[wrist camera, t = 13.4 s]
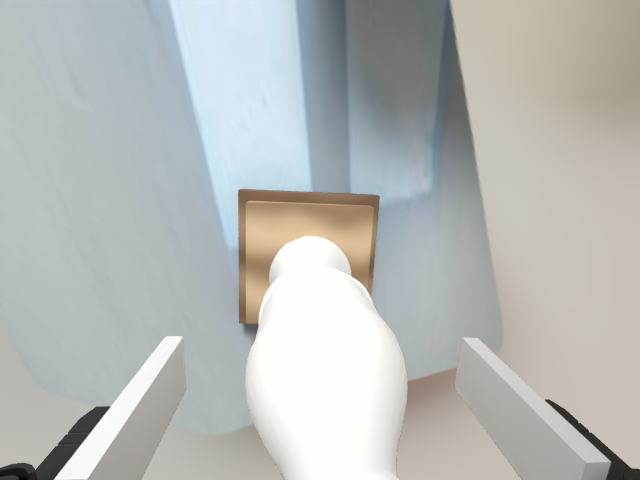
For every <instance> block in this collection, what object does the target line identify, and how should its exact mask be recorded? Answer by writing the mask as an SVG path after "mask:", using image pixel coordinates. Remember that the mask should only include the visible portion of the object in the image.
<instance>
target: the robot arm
mask: <svg viewBox="0 0 640 480" xmlns="http://www.w3.org/2000/svg"><path fill="white" fill-rule="evenodd" d="M454 387H455V389H456V390H457V392H458V393H459V394H460V396H461V397H462V399H463V400H464V401H465V403H466V404H467V405H468V407H469V408H470V409H471V411H472V412H473V414H474V415H475V416H476V418H477V419H478V420H479V422H480V423H481V424H482V426H483V427H484V429H485V430H486V432H487V433H488V434H489V436H490V437H491V438H492V440H493V441H494V443H495V444H496V445H497V447H498V448H499V449H500V451H501V452H502V453H503V455H504V456H505V458H506V459H507V460H508V462H509V463H510V464H511V466H512V467H513V469H514V470H515V471H516V473H517V474H518V476H519V477H520V478H521V480H640V469H632V468H630V467H629V466H628V465H627V464H626V463H625V462H623V461H622V460H621V459H620V458H619V457H618V456H617V455H616V454H614V453H613V452H612V451H611V450H610V449H609V448H608V447H607V446H606V445H604V444H603V443H602V442H601V441H600V440H599V439H598V438H597V437H595V436H594V435H593V434H592V433H589V431H588V429H586V428H585V427H584V426H583V425H582V424H581V423H578V421H577V420H576V419H575V418H574V417H573V416H572V415H571V414H570V413H568V412H567V411H566V410H565V409H564V408H562V407H560V406H559V405H557V404H555V403H554V402H552V401H550V400H544V399H543V398H542V397H541V396H540V395H538V394H537V393H536V392H535V391H534V390H533V389H532V388H531V387H530V386H529V385H528V384H527V383H525V382H524V381H523V380H522V379H521V378H520V377H519V376H518V375H517V374H516V373H515V372H514V371H513V370H512V369H510V368H509V367H508V366H507V365H506V364H505V363H504V362H503V361H501V359H500V358H499V357H497V356H496V355H495V354H494V353H493V352H492V351H491V350H490V349H489V348H488V347H487V346H486V345H485V344H483V343H482V342H481V341H480V340H479V339H478V338H462V342H461V348H460V354H459V361H458V367H457V373H456V380H455V385H454ZM185 391H186V378H185V358H184V339H183V336H166V337H165V338H164V339H163V341H162V342H161V343H160V344H159V346H158V347H157V348H156V349H155V351H154V352H153V353H152V355H151V356H150V357H149V358H148V360H147V361H146V362H145V364H144V365H143V366H142V367H141V369H140V370H139V371H138V373H137V374H136V375H135V376H134V378H133V379H132V380H131V382H130V383H129V384H128V385H127V387H126V388H125V389H124V390H123V392H122V393H121V394H120V396H119V397H118V398H117V399H116V401H115V402H114V403H113V405H112V406H111V407H95V408H94V409H93V410H91V411H90V412H88V413H87V414H86V415H84V416H83V417H82V418H80V419H79V420H78V421H77V423H76V424H75V425H74V426H73V427H72V428H71V430H70V431H69V432H68V435H65V436H64V438H63V439H62V440H61V441H60V442H59V444H58V446H56V447H55V448H54V449H53V450H52V451H51V453H50V454H49V455H48V456H47V457H46V458H45V459H44V461H43V462H42V463H41V464H40V465H39V466H38V468H37V469H36V470H35V469H34V467H33V466H32V465H30V464H26V463H17V464H11V465H8V466H5V467H2V468H0V480H141V479H142V477H143V475H144V473H145V471H146V469H147V467H148V465H149V463H150V461H151V459H152V457H153V455H154V453H155V451H156V449H157V447H158V445H159V443H160V441H161V439H162V437H163V435H164V433H165V431H166V429H167V427H168V425H169V423H170V421H171V419H172V417H173V415H174V413H175V411H176V409H177V407H178V405H179V403H180V401H181V399H182V397H183V395H184V393H185Z"/></svg>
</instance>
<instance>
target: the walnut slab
mask: <svg viewBox="0 0 640 480" xmlns="http://www.w3.org/2000/svg"><path fill="white" fill-rule="evenodd" d="M379 198H380V196H377V195H368V194H345V193H322V192H298V191H275V190H252V189H240V190H238V211H239V323H246V202H248V201H265V202H290V203H315V204H340V205H365V206H371V207H373V208H374V215H373V227H372V239H371V251H370V263H369V275H368V287H367V291H368V293H369V295H370V297H371V291H372V279H373V268H374V256H375V245H376V233H377V221H378V210H379Z"/></svg>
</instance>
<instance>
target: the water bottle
mask: <svg viewBox="0 0 640 480" xmlns="http://www.w3.org/2000/svg"><path fill="white" fill-rule="evenodd" d="M269 282H270V287H269V288H268V290H267V291H266V293H265V295H264V297H263V300H262V304H261V308H260V312H259V320H258V324H259V327H258V331H257V335H256V339H255V342H254V344H253V346H252V347H251V350H250V353H249V357H248V360H247V367H246V379H245V389H246V398H247V403H248V407H249V412H250V415H251V418H252V420H253V423H254V425H255V427H256V429H257V432H258V434H259V436H260V438H261V439H262V442H263V443H264V445H265V447H266V449H267V451H268V453H269V454H270V456H271V458H272V459H273V461H274V462H275V464H276V466H277V467H278V469H279V471H280V472H281V475H282V476H283V478H284V480H400V479H399V478H398V477H397V464H396V463H397V450H398V445H399V440H400V436H401V431H402V427H403V422H404V416H405V409H406V402H407V373H406V368H405V362H404V357H403V354H402V352H401V349H400V346H399V344H398V342H397V340H396V338H395V336H394V334H393V332H392V330H391V329H390V328H389V327H388V326H387V324H386V323H385V322H384V321H383V320H382V319H381V318H380V316H379V314H378V313H377V311H376V309H375V308H374V305H373V302H372V299H371V297H370V295H369V293H368V291H367V290H366V288H365V287H364V286H363V285H362V284H361V283H360V282H359V281H358V280H356V279H355V278H353V277H351V269H350V265H349V262H348V260H347V258H346V256H345V254H344V253H343V252H342V250H341V249H340V248H339V247H338V246H337V245H335V244H334V243H333V242H331V241H329V240H327V239H325V238H321V237H317V236H303V237H301V238H298V239H296V240H294V241H291V242H289V243H287V244H285V245H284V246H283V247H282V248H281V249H280V250H279V251H278V253H277V254H276V256H275V258H274V260H273V262H272V265H271V268H270V273H269Z"/></svg>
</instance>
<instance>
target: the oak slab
mask: <svg viewBox="0 0 640 480" xmlns="http://www.w3.org/2000/svg"><path fill="white" fill-rule="evenodd" d="M373 215H374V208H373V207H371V206H365V205H340V204H315V203H290V202H265V201H248V202H246V323H247V324H258V320H259V312H260V308H261V304H262V300H263V297H264V295H265V293H266V291H267V290H268V288H269V287H270V282H269V273H270V268H271V265H272V262H273V260H274V258H275V256H276V254H277V253H278V251H279V250H280V249H281V248H282V247H283V246H284V245H285V244H287V243H289V242H291V241H294V240H296V239H298V238H301V237H303V236H317V237H321V238H325V239H327V240H329V241H331V242H333V243H334V244H335V245H337V246H338V247H339V248H340V249H341V250H342V252H343V253H344V254H345V256H346V258H347V260H348V262H349V265H350V269H351V277H353V278H355V279H356V280H358V281H359V282H360V283H361V284H362V285H363V286H364V287H365V288H366V290H367V287H368V275H369V263H370V251H371V239H372V227H373Z"/></svg>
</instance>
